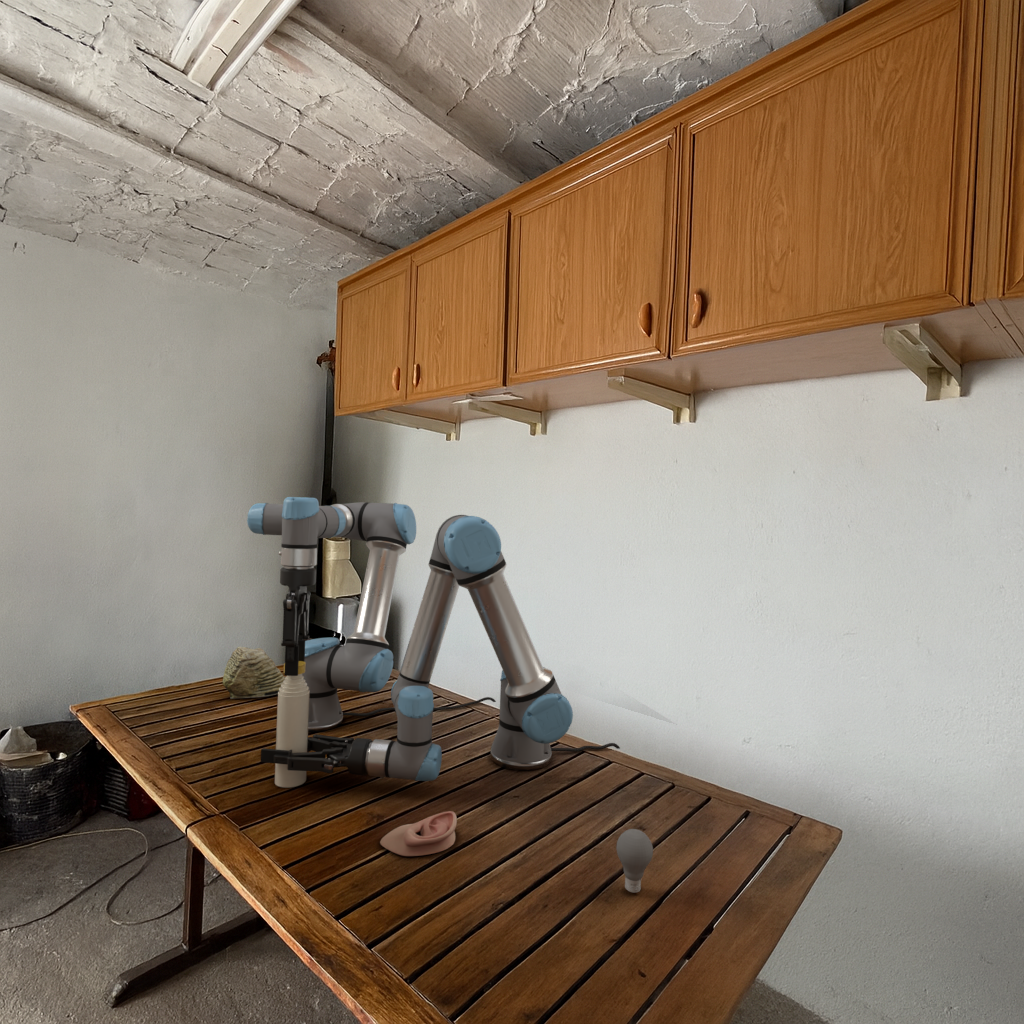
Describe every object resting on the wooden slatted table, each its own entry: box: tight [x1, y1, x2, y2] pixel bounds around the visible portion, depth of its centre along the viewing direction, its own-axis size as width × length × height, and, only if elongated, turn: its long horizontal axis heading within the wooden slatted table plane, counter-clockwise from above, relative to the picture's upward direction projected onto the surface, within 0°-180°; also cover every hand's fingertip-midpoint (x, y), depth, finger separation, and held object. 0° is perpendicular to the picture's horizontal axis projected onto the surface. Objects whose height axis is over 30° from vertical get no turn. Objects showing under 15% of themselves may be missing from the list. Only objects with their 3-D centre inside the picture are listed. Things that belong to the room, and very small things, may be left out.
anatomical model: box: [379, 810, 458, 857], centre depth 118 cm, size 13×4×12 cm
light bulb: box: [615, 828, 654, 894], centre depth 106 cm, size 6×6×10 cm
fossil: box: [222, 646, 286, 699], centre depth 198 cm, size 9×18×15 cm, turn 132°
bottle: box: [274, 674, 310, 789], centre depth 140 cm, size 7×7×26 cm
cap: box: [283, 661, 306, 674], centre depth 140 cm, size 5×4×2 cm
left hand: (294, 671), depth 140 cm, fingers closed on cap, 4 cm apart
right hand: (270, 748), depth 141 cm, fingers closed on bottle, 7 cm apart
